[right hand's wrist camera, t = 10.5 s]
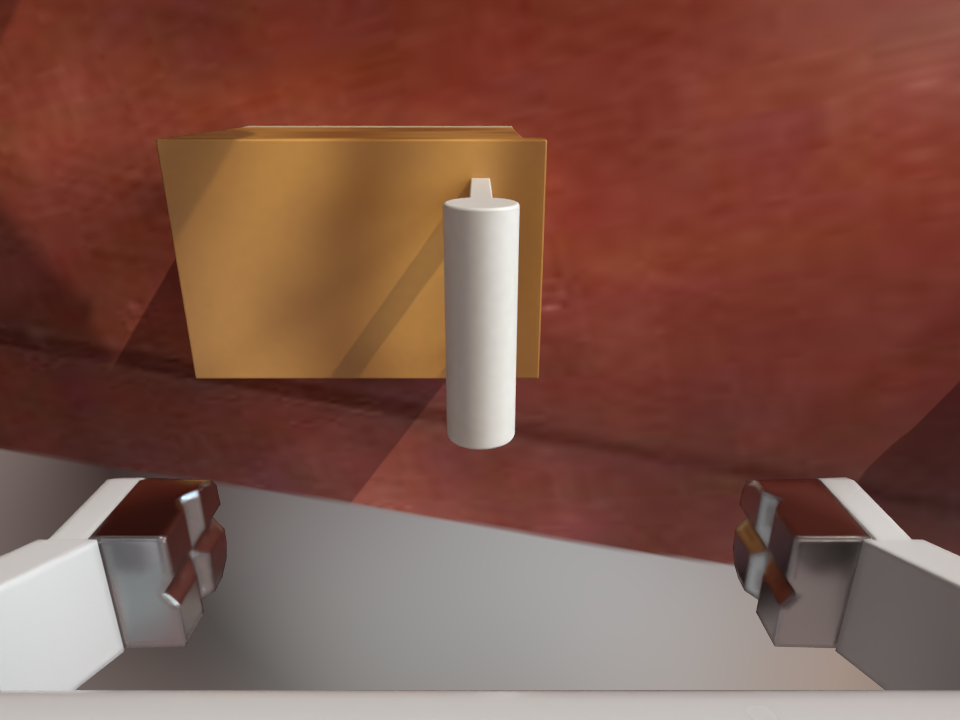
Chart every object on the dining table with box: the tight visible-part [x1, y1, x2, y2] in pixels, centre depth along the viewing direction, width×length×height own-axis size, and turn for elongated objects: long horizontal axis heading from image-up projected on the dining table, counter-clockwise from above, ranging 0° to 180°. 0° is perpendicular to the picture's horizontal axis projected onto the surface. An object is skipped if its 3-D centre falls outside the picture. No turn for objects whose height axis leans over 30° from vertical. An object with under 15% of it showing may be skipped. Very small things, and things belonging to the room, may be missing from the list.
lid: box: [156, 138, 547, 449], centre depth 22 cm, size 14×9×9 cm
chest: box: [169, 126, 522, 138], centre depth 31 cm, size 13×9×10 cm
